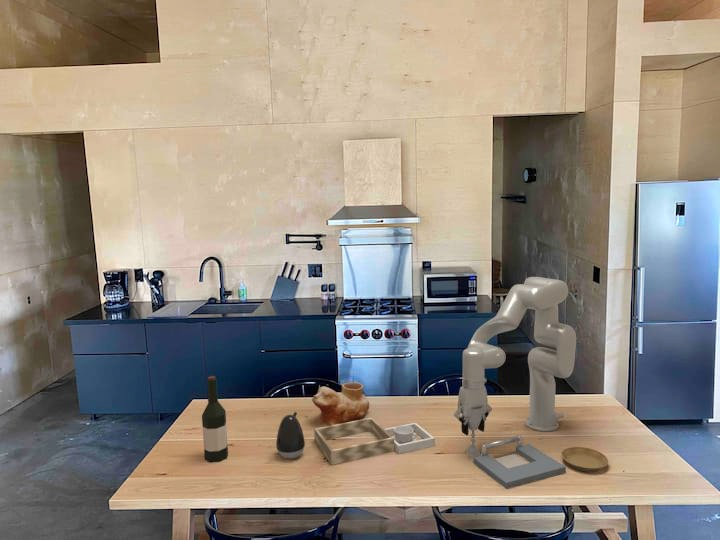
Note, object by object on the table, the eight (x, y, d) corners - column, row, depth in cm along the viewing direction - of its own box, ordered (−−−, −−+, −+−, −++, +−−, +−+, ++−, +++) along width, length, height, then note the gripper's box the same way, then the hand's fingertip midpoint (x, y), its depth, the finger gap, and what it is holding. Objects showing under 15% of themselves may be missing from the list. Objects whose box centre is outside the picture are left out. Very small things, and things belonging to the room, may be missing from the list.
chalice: (482, 458, 185) (483, 409, 183) (463, 457, 186) (463, 408, 184) (482, 448, 192) (482, 401, 190) (463, 447, 194) (463, 400, 191)
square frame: (415, 429, 209) (415, 422, 209) (434, 445, 195) (434, 438, 195) (381, 437, 204) (380, 429, 203) (398, 454, 190) (398, 446, 189)
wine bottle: (207, 465, 185) (201, 382, 181) (202, 455, 192) (197, 375, 188) (230, 459, 189) (226, 378, 185) (225, 449, 196) (220, 371, 192)
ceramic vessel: (306, 420, 221) (304, 385, 219) (358, 405, 235) (357, 373, 233) (322, 431, 209) (320, 395, 207) (376, 415, 224) (375, 381, 221)
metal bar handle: (519, 450, 191) (519, 434, 190) (522, 452, 189) (522, 436, 188) (480, 459, 184) (480, 443, 184) (483, 461, 183) (483, 445, 182)
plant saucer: (613, 476, 172) (614, 469, 172) (566, 473, 174) (566, 466, 174) (600, 454, 186) (601, 447, 186) (557, 452, 189) (557, 445, 188)
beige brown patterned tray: (372, 429, 210) (371, 417, 210) (394, 451, 192) (394, 438, 191) (314, 441, 201) (314, 428, 201) (331, 465, 183) (331, 451, 182)
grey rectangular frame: (529, 449, 191) (529, 443, 191) (565, 472, 175) (565, 466, 174) (473, 462, 182) (473, 457, 182) (506, 488, 166) (506, 482, 166)
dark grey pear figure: (310, 450, 194) (308, 411, 192) (297, 464, 184) (296, 422, 182) (285, 446, 197) (283, 408, 195) (271, 460, 188) (269, 419, 185)
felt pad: (513, 454, 188) (513, 453, 188) (531, 466, 179) (531, 465, 179) (492, 459, 184) (492, 459, 184) (509, 471, 176) (509, 471, 176)
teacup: (387, 445, 197) (386, 433, 197) (395, 434, 206) (395, 422, 206) (412, 449, 194) (412, 437, 193) (420, 437, 203) (420, 426, 202)
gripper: (487, 376, 192) (486, 423, 195) (446, 383, 186) (446, 432, 188) (500, 383, 186) (499, 431, 188) (458, 390, 179) (458, 441, 182)
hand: (473, 431), depth 188 cm, fingers closed on chalice, 6 cm apart
